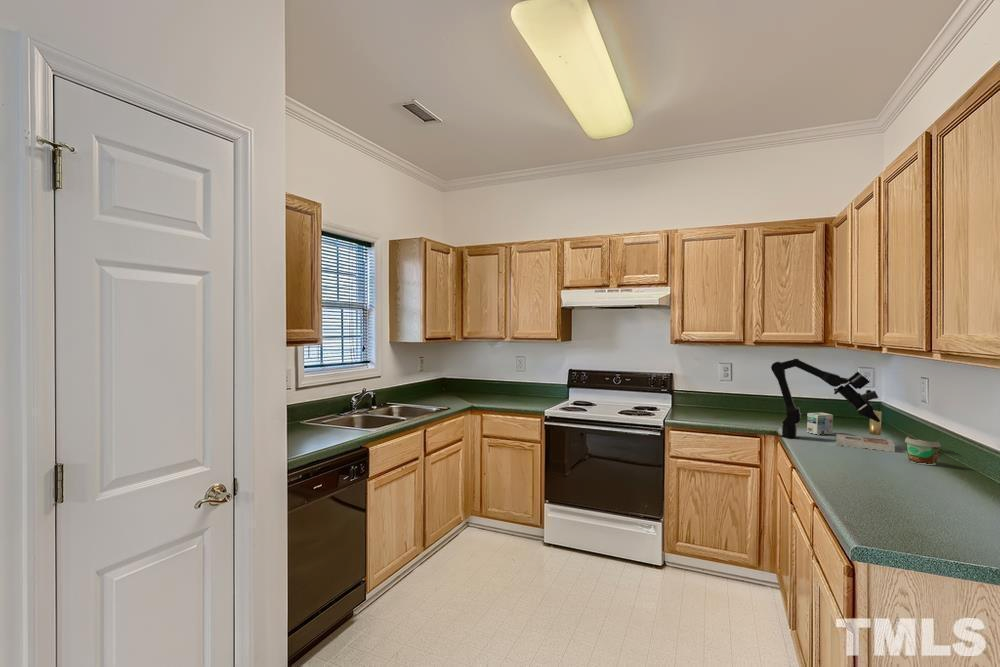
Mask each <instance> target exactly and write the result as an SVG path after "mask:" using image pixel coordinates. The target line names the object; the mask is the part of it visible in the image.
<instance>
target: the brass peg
mask: <svg viewBox="0 0 1000 667" xmlns="http://www.w3.org/2000/svg"><path fill="white" fill-rule="evenodd" d="M873 412H874V413H875V414H876V416H877V417H878V418H879V419H880V422H877V421H875V420H872V419H870V418H869V430H868V432H869V435H872V436H873V435H874V436H881V435H882V414H883V413H882V411H881V410H874V409H873Z"/></svg>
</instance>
